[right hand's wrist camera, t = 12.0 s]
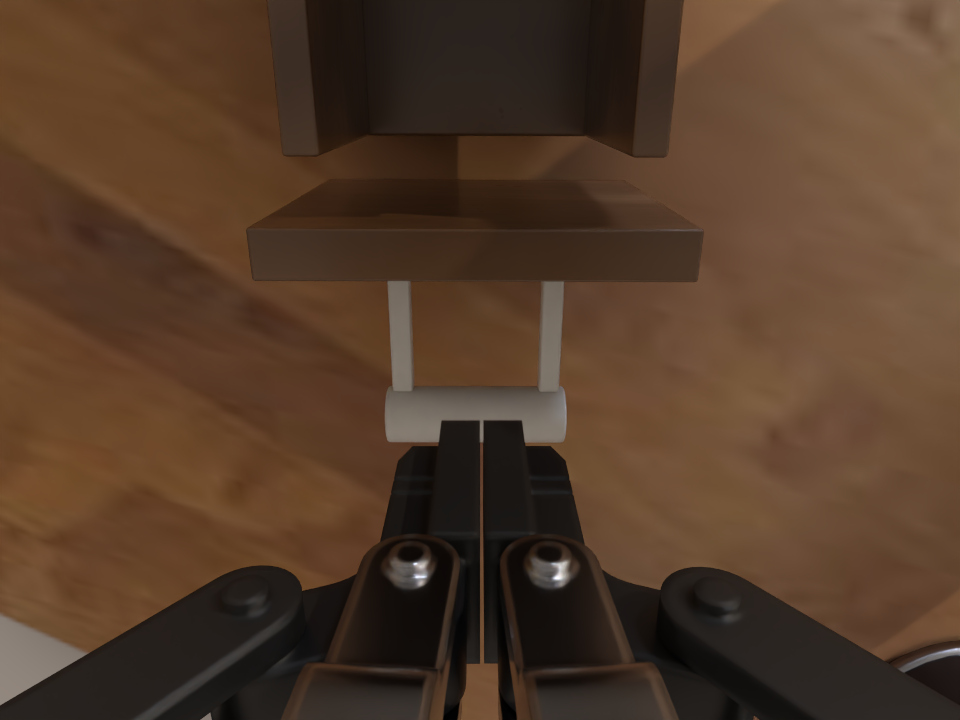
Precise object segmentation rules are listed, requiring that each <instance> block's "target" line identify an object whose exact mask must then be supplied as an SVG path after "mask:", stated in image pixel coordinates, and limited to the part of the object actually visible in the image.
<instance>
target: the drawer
mask: <svg viewBox="0 0 960 720" xmlns="http://www.w3.org/2000/svg"><path fill="white" fill-rule="evenodd" d="M683 3H684V0H267V7H268V17H269V27H270V37H271V47H272V56H273V66H274V76H275V86H276V96H277V106H278V115H279V125H280V135H281V145H282V153H283V155H284V156H318V155H321V154H323V153H326V152H328V151H331V150H333V149H336V148H338V147H341V146H343V145H346V144H348V143H350V142H353V141H355V140H358V139H360V138H363V137H365V136H368V135H399V136H587V137H589V138H591V139H594V140H596V141H598V142H601V143H603V144H605V145H607V146H610V147H612V148H614V149H617V150H619V151H621V152H623V153H626V154H628V155H630V156H633V157H666V156H667V154H668V149H669V139H670V129H671V120H672V110H673V100H674V91H675V81H676V71H677V61H678V52H679V42H680V32H681V22H682V13H683ZM246 232H247V240H248V248H249V255H250V263H251V271H252V278H253V280H255V281H387V284H388V304H389V324H390V344H391V364H392V385H393V386H389V387H388V390H387V393H386V401H385V431H386V437H387V440H388V441H389V442H439V436H440V428H441V421H442V420H480V442H483V420H522V424H523V432H524V440H525V442H534V443H561V442H563V441H564V439H565V434H566V420H567V412H566V396H565V391H564V388H563V387H561V386H559V377H560V358H561V338H562V319H563V299H564V282H696V281H697V280H698V273H699V265H700V258H701V250H702V242H703V234H704V231H703V229H701V228H699V227H698V226H696V225H695V224H693V223H691V222H690V221H688V220H687V219H685V218H683V217H682V216H680V215H679V214H677V213H675V212H674V211H672V210H671V209H669V208H667V207H666V206H664V205H663V204H661V203H659V202H658V201H656V200H655V199H653V198H652V197H650V196H648V195H647V194H645V193H644V192H642V191H640V190H639V189H637V188H636V187H634V186H632V185H631V184H629V183H628V182H626V181H624V180H337V179H330V180H328V181H326V182H324V183H323V184H321V185H319V186H318V187H316V188H314V189H312V190H311V191H309V192H307V193H306V194H304V195H302V196H301V197H299V198H297V199H296V200H294V201H292V202H291V203H289V204H287V205H286V206H284V207H282V208H281V209H279V210H277V211H275V212H274V213H272V214H270V215H269V216H267V217H265V218H264V219H262V220H260V221H259V222H257V223H255V224H254V225H252V226H250V227H249V228H247V230H246ZM411 281H508V282H541V300H540V326H539V353H538V379H537V384H538V386H414V357H413V329H412V301H411Z"/></svg>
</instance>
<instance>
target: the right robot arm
mask: <svg viewBox="0 0 960 720" xmlns="http://www.w3.org/2000/svg"><path fill="white" fill-rule="evenodd" d="M483 557H484V663H498V715H499V720H753V717H754V716H756V717H757V718H758V719H760V720H960V641H951V642H944V643H939V644H935V645H931V646H927V647H924V648H921V649H918V650H915V651H913V652H910V653H908V654H906V655H904V656H902V657H900V658H898V659H896V660H894V661H893V662H891V663H889V664H888V663H887V662H885V661H883V660H882V659H880V658H878V657H876V656H875V655H873V654H871V653H870V652H868V651H866V650H864V649H863V648H861V647H859V646H858V645H856V644H854V643H853V642H851V641H849V640H847V639H846V638H844V637H842V636H841V635H839V634H837V633H836V632H834V631H832V630H830V629H829V628H827V627H825V626H824V625H822V624H820V623H818V622H817V621H815V620H813V619H812V618H810V617H808V616H807V615H805V614H803V613H801V612H800V611H798V610H796V609H795V608H793V607H791V606H790V605H788V604H786V603H784V602H783V601H781V600H779V599H778V598H776V597H774V596H772V595H771V594H769V593H767V592H766V591H764V590H762V589H761V588H759V587H757V586H755V585H754V584H752V583H750V582H749V581H747V580H745V579H743V578H741V577H739V576H737V575H735V574H732V573H730V572H727V571H723V570H720V569H715V568H708V567H691V568H685V569H682V570H679V571H676V572H674V573H672V574H671V575H670V576H668V577H667V578H666V579H665V581H664V582H663V584H662V587H661V590H657V589H653V588H648V587H644V586H640V585H635V584H632V583H628V582H625V581H622V580H620V579H617V578H615V577H613V576H611V575H609V574H608V573H606V572H605V571H603V570H602V569H601V566H600V564H599V561H598V559H597V557H596V556H595V554H594V553H593V552H592V551H591V550H590V549H589V548H588V547H587V546H585V544H584V539H583V535H582V531H581V526H580V522H579V518H578V513H577V509H576V505H575V500H574V496H573V495H572V487H571V483H570V481H569V474H568V470H567V466H566V461H565V460H564V459H563V458H562V457H561V456H560V455H559V454H558V453H557V452H556V451H555V450H554V449H553V448H552V447H551V446H525V440H524V432H523V424H522V420H483ZM467 664H480V420H442V421H441V428H440V436H439V445H438V446H413V447H412V448H411V449H410V450H409V451H408V452H407V453H406V454H405V455H404V456H403V457H402V458H401V459H400V460H399V461H398V464H397V468H396V473H395V477H394V482H393V486H392V491H391V496H390V500H389V505H388V509H387V514H386V518H385V523H384V527H383V532H382V536H381V541H380V542H379V543H378V544H376V545H375V546H373V547H372V548H371V549H370V550H369V551H368V552H367V553H366V554H365V556H364V557H363V559H362V561H361V564H360V566H359V569H358V572H357V574H356V575H354V576H352V577H350V578H348V579H345V580H343V581H340V582H337V583H334V584H330V585H326V586H322V587H318V588H313V589H309V590H305V591H302V587H301V584H300V582H299V580H298V579H297V578H296V576H294V575H293V574H292V573H291V572H289V571H287V570H285V569H282V568H279V567H274V566H251V567H245V568H241V569H237V570H234V571H231V572H229V573H226V574H224V575H222V576H220V577H218V578H216V579H215V580H213V581H211V582H210V583H208V584H206V585H205V586H203V587H201V588H199V589H198V590H196V591H194V592H193V593H191V594H189V595H188V596H186V597H184V598H182V599H181V600H179V601H177V602H176V603H174V604H172V605H170V606H169V607H167V608H165V609H164V610H162V611H160V612H159V613H157V614H155V615H153V616H152V617H150V618H148V619H147V620H145V621H143V622H142V623H140V624H138V625H136V626H135V627H133V628H131V629H130V630H128V631H126V632H125V633H123V634H121V635H119V636H118V637H116V638H114V639H113V640H111V641H109V642H107V643H106V644H104V645H102V646H101V647H99V648H97V649H96V650H94V651H92V652H90V653H89V654H87V655H85V656H84V657H82V658H80V659H79V660H77V661H75V662H73V663H72V664H70V665H68V666H67V667H65V668H63V669H61V670H60V671H58V672H56V673H55V674H53V675H51V676H50V677H48V678H46V679H44V680H43V681H41V682H39V683H38V684H36V685H34V686H33V687H31V688H29V689H27V690H26V691H24V692H22V693H21V694H19V695H17V696H16V697H14V698H12V699H10V700H9V701H7V702H5V703H4V704H2V705H0V720H200V719H202V718H203V717H205V716H206V715H207V714H209V713H210V712H211V717H212V720H461V715H462V697H463V694H464V691H465V687H466V667H467Z"/></svg>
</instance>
